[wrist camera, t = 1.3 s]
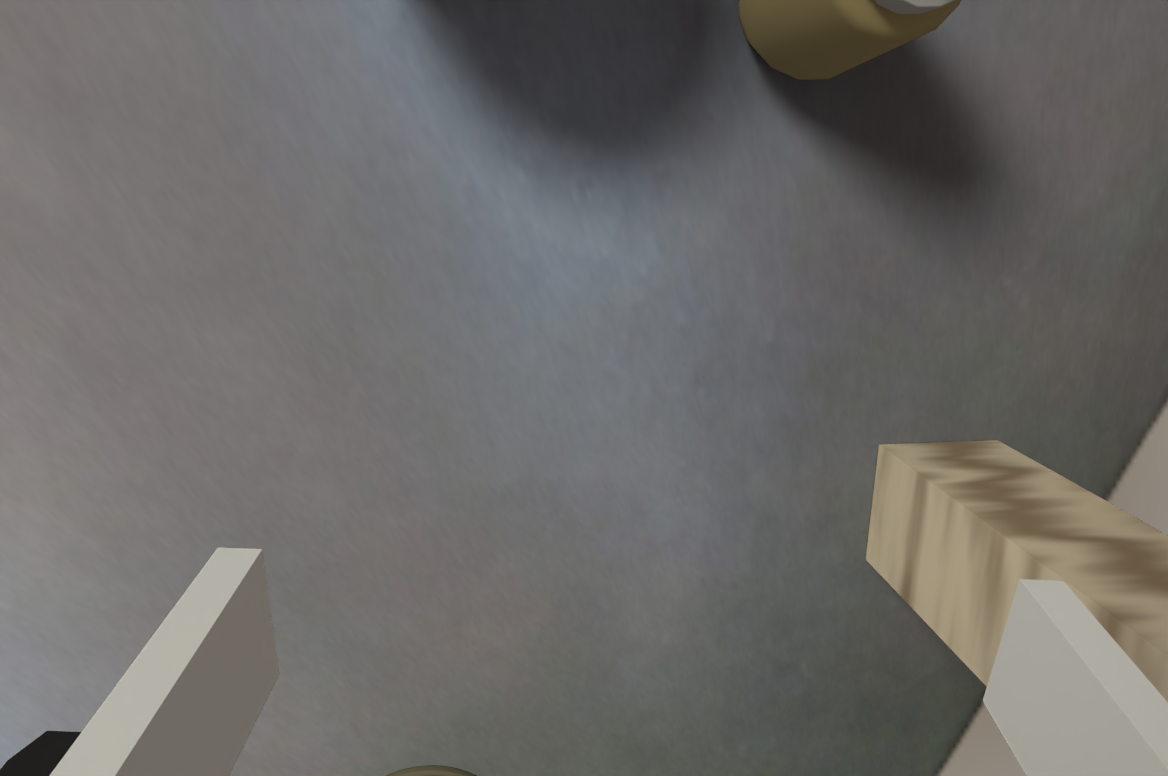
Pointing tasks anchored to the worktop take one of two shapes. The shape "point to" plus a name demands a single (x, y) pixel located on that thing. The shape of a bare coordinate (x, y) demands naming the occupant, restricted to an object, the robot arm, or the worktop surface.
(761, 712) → the worktop surface
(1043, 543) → the stand
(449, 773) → the can
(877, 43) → the squeeze bottle
